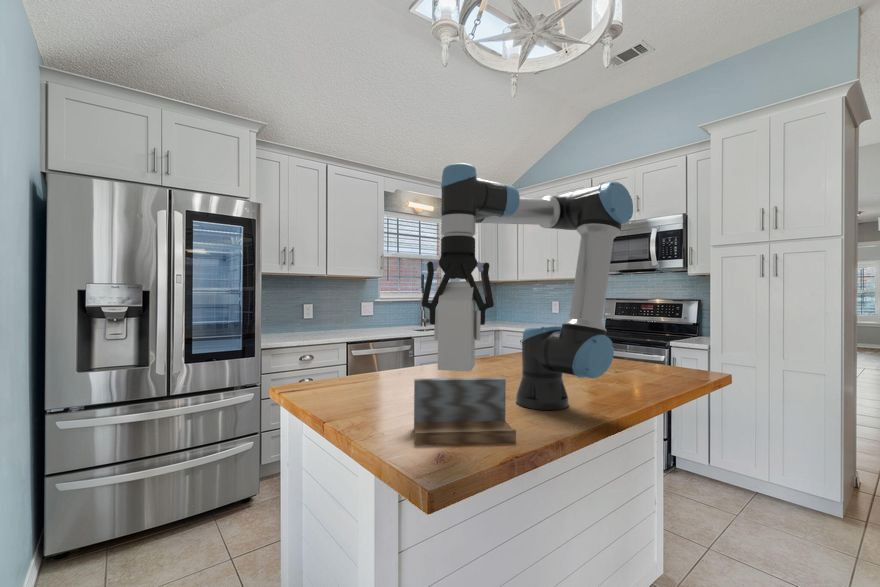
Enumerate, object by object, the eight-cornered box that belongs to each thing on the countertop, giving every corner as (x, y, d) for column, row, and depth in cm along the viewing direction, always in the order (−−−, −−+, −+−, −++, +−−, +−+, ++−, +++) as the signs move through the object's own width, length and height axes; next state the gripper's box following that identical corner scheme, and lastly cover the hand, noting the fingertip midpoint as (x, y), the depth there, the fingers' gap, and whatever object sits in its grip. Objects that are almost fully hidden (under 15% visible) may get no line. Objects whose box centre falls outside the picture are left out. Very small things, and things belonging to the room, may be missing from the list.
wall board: (503, 426, 101) (503, 377, 101) (515, 442, 90) (516, 387, 90) (413, 428, 99) (414, 378, 99) (415, 445, 88) (416, 389, 88)
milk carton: (470, 372, 86) (471, 281, 86) (437, 370, 87) (438, 281, 87) (474, 366, 93) (475, 282, 93) (443, 365, 94) (444, 282, 94)
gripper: (501, 240, 95) (500, 338, 95) (409, 237, 93) (408, 338, 93) (509, 235, 88) (508, 341, 87) (410, 232, 85) (409, 341, 85)
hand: (457, 339), depth 90 cm, fingers closed on milk carton, 8 cm apart
